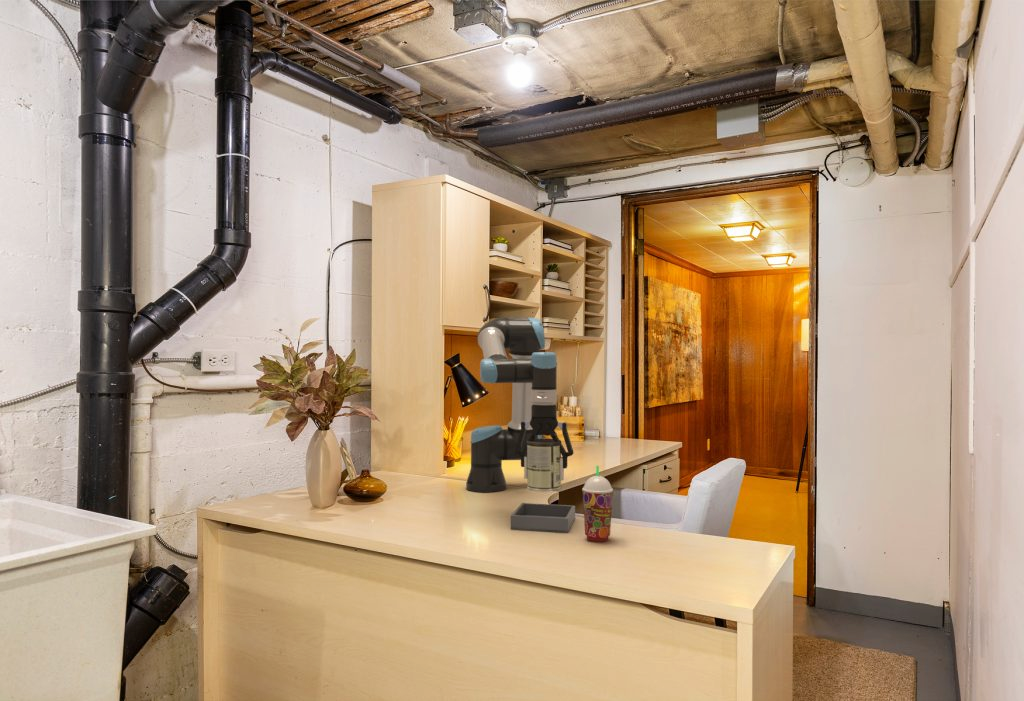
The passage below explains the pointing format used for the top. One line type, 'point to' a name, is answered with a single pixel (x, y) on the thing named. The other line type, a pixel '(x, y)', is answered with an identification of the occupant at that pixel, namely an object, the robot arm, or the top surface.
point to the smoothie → (597, 507)
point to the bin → (543, 517)
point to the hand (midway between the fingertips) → (544, 478)
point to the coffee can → (543, 465)
